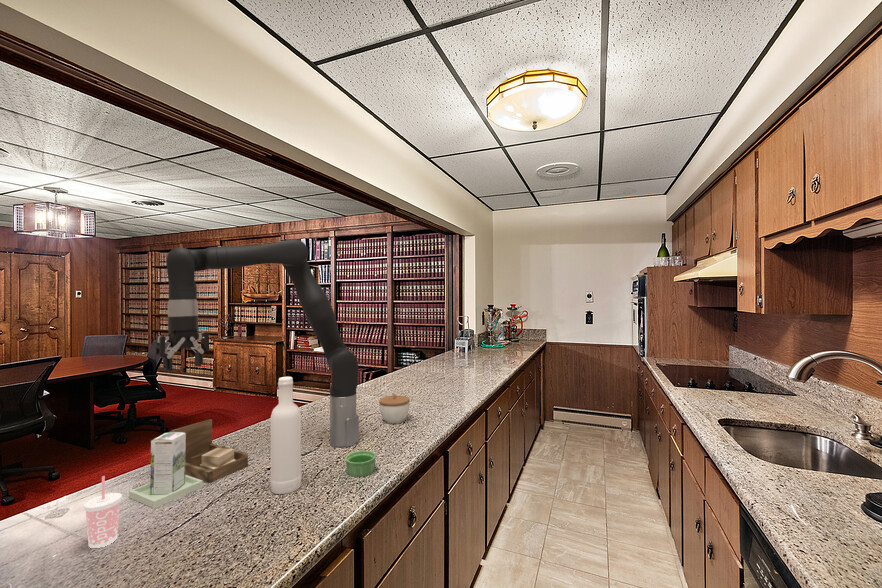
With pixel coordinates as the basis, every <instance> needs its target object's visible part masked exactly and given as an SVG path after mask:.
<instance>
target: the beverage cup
mask: <svg viewBox="0 0 882 588" xmlns="http://www.w3.org/2000/svg"><path fill="white" fill-rule="evenodd" d="M105 479H106V476H105V475H102V476H101V495H98V496H95V497H93V498H91V499H89V500H87V501H86V502H85V503H84V504H83V508H84V509H83V510H84V511H85V518H86V520H85V521H86V529H87V530H86V533H87V541H88V542H87V543H88V548H89V547H90V548H100V547H103V548H106V547H107V545H108V546H111V545H112V544H113V542H114V541H115V540H116V539H117V540H118V534H119V523H120V522H119V521H120V509H121V508H120V506H121V502H122V500H123V498H122V496H123V494H121V493H120V492H109V493H106V480H105ZM117 540H116V541H117ZM116 541H115V542H116ZM115 542H114V543H115ZM111 543H112V544H111ZM105 546H106V547H105ZM90 548H89V549H90ZM100 549H101V548H100Z"/></svg>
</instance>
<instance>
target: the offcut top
mask: <svg viewBox="0 0 882 588" xmlns="http://www.w3.org/2000/svg"><path fill="white" fill-rule="evenodd" d="M226 448H227V447H226ZM226 448H216V449H214V450H212V451H210V452H208V453H206V454H204V455H202V466H209V467H220V466H222V465H224V464H226V463H228V462H230V461H231V460H233V459H234V450H235V449H234V448H230V449H226Z"/></svg>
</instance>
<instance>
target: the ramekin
mask: <svg viewBox="0 0 882 588" xmlns="http://www.w3.org/2000/svg"><path fill="white" fill-rule="evenodd" d="M376 457H377V455H376V453H375V452H373V451H371V450H357V451H353V452H350V453H348V454H347V455H346V456H345V458H344V460H345V463H346V464H345V466H346V472H347V474H348V475H349V476H351V477H355V478H357V477H358V478H359V477H366V476H369V475H370V474H372V473H374V471H375V467H376V466H375V464H376Z"/></svg>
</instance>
